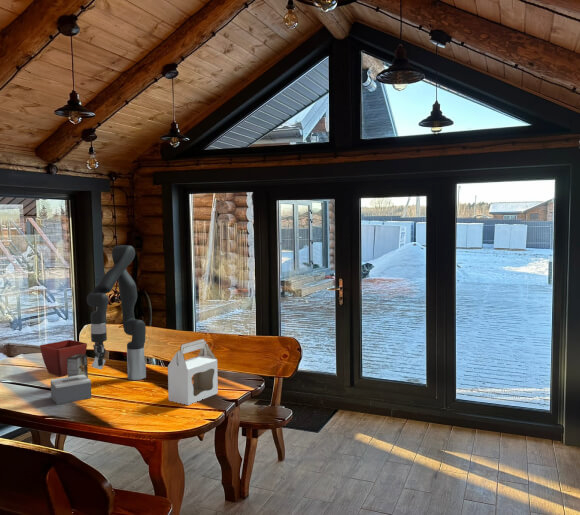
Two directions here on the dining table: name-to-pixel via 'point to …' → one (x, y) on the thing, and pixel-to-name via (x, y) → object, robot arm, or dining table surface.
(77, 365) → the coffee box
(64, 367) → the plant pot
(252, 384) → the dining table surface
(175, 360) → the gable box
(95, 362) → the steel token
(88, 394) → the box
